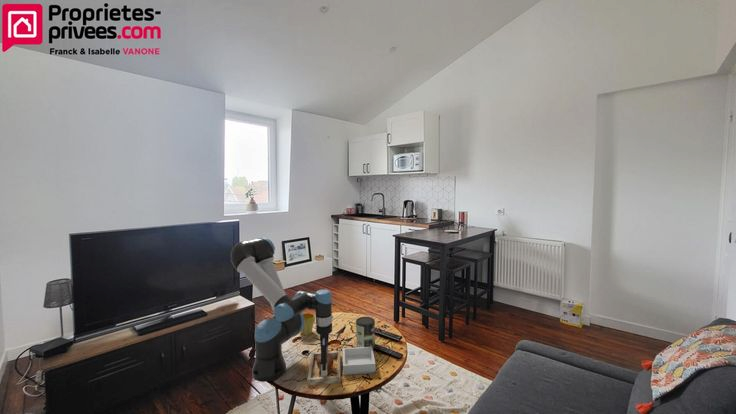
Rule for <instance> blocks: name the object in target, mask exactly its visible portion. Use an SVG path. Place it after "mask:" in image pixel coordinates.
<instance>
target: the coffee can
mask: <svg viewBox="0 0 736 414" xmlns="http://www.w3.org/2000/svg"><path fill="white" fill-rule="evenodd" d="M375 322H376V320H375V318H374V317H371V316H361V317H357V318H356V319H355V324H356V325H355V327H356V329H355V331H356V332H355V333H356V334H355V335H356V336H355V337H356V339H355V340H356V345H355V347H371V346H372V349H373V350H374V348H375V347H374V345H375V346H376V340H375V339H376V337H375V335H376V333H375V331H376V328H375V327H376V325H375V324H376V323H375ZM373 347H374V348H373Z"/></svg>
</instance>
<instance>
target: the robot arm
mask: <svg viewBox="0 0 736 414" xmlns="http://www.w3.org/2000/svg"><path fill="white" fill-rule="evenodd" d="M275 250H276V248H275V245H274V243H273V241H272V240H271V239H269V238H267V237H257V238H252V239H249V240H248V239H247V240H243V241H239V242H237V243H236V244H235V245H234V246H233V247H232V248H231V251H230V262H231V264H232V266H233V268H234V269H235V270H236V271H237V272H238V273H240V274H243V276H245V277H246V278H247V280H248V281H249V282H250V283H251V284H252V285H253V286H254V287H255V288H256V289H257V290H258V292H260V294H261V295H262V296H263V298H265V299H266V300H267V301H268V302H269V304H270V306H271V308H272V312H273V314H272V317H271V318H268V319H267V318H266V319H264V320H262V321H260V322H259V323H258V324H257V325H256V326H255V329H254V344H255V360H254V363H253V365H252V366H253V367H252V370H251V372H252V374H251V375H252V378H253V380H255V381H256V382H257V381H258V382H262V383H265V382H271V381H275V380H277V379H279V378H281V377H282V376H283V375H284V374H285V373H286V370H287V363H286V361H285V357H284V355H283V352H282V351H283V348H282V345H283V344H284V343H286V342H288V341H289V340H290V339H292V338H293V337H297V335H299V334H301V331H302V330H303V328H304V324H305V320H304V316H303V313H302V312H305V311H306V310H312V311H315V332H316V334H317V335H320V336H319V341H320V352H321V362H319V364H321V370H320V377H328V370H327V353H328V352H329V346H330V342H329V341H330V340H329V338H330V335H329V334H331V333H332V332H333V319H334V316H333V313H332V312H333V311H332V309H333V307H332V306H333V303H332V302H333V298H332V291H330V290H329V289H319V290H317V291H316V292H315V293H314V292H310V291H306V290H298V291H297V292H296V293H295V294H294V296H293V297H292V298H291V297H290V296H289V295H288V294H286V291H285V289H284V287H283V284H282V282H281V279H280V276H279V275H278V272H277V270H276V268H275V264H274V262H273V261H274V259H275V257H274V254H275Z"/></svg>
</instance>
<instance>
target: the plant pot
mask: <svg viewBox="0 0 736 414" xmlns="http://www.w3.org/2000/svg"><path fill="white" fill-rule="evenodd" d="M302 314H303V316H304V320H305V324H304V328H303V330H302V331H301V332H300V334H301V335H302V336H303V335H305V336H308V335H310V334H311V333H312V332H313V328H314V323H316V314H314V313H311V312H305V313H302Z"/></svg>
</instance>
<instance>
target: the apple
mask: <svg viewBox="0 0 736 414" xmlns="http://www.w3.org/2000/svg"><path fill="white" fill-rule="evenodd" d="M319 362H321V355H319V356H318V358H316V366H317V368H318V370H319V371H321V364H319ZM334 362H335V360H334V357H332V355H331V354H328V353H327V371H329V370H331V369H332V367H333V366H334Z"/></svg>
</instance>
